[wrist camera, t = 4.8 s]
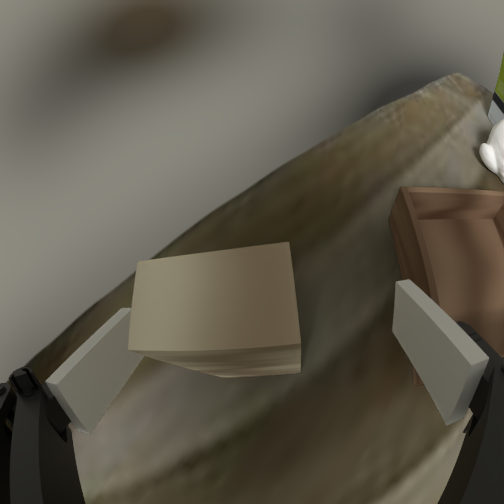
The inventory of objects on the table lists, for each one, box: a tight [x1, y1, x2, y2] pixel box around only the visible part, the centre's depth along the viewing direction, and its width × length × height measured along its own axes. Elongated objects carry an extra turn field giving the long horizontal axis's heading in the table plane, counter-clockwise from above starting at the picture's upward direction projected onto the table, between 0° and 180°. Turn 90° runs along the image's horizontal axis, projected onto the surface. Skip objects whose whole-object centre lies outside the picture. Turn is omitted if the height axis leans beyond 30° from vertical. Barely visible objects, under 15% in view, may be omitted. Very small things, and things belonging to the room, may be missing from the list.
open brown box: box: [388, 187, 504, 386], centre depth 14 cm, size 12×13×4 cm
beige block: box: [128, 242, 301, 378], centre depth 14 cm, size 5×8×11 cm, turn 3°
